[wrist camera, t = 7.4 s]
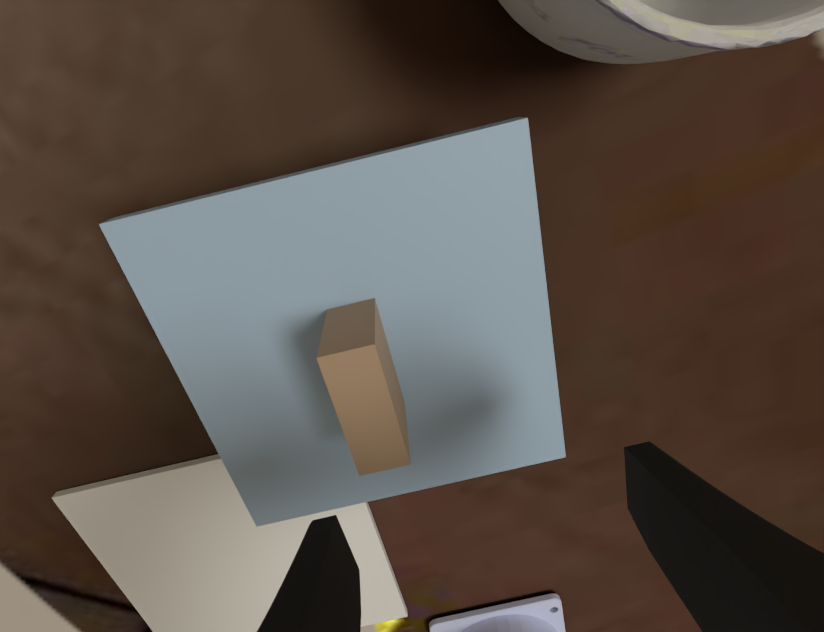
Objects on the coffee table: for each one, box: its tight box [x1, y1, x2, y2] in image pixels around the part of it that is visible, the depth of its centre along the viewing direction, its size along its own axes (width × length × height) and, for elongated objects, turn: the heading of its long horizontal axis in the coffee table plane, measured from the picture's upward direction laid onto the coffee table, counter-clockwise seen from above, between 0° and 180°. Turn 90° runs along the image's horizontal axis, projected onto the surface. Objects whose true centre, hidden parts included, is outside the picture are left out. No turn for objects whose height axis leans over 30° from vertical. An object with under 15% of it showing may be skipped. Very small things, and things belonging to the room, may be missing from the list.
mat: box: [52, 454, 408, 632], centre depth 25 cm, size 14×14×1 cm
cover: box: [99, 117, 566, 527], centre depth 14 cm, size 12×12×4 cm
